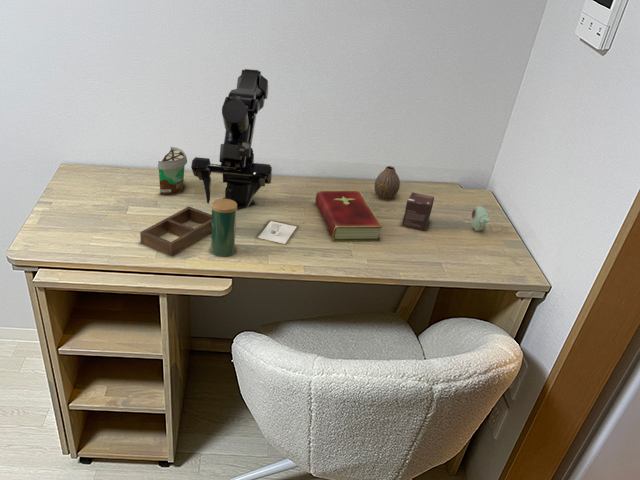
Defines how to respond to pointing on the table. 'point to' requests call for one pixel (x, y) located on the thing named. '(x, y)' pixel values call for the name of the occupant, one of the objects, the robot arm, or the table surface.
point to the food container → (172, 172)
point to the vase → (387, 183)
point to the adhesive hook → (277, 232)
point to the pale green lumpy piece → (480, 217)
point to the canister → (223, 227)
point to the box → (418, 211)
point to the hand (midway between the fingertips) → (227, 204)
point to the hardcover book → (348, 216)
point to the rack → (177, 231)
